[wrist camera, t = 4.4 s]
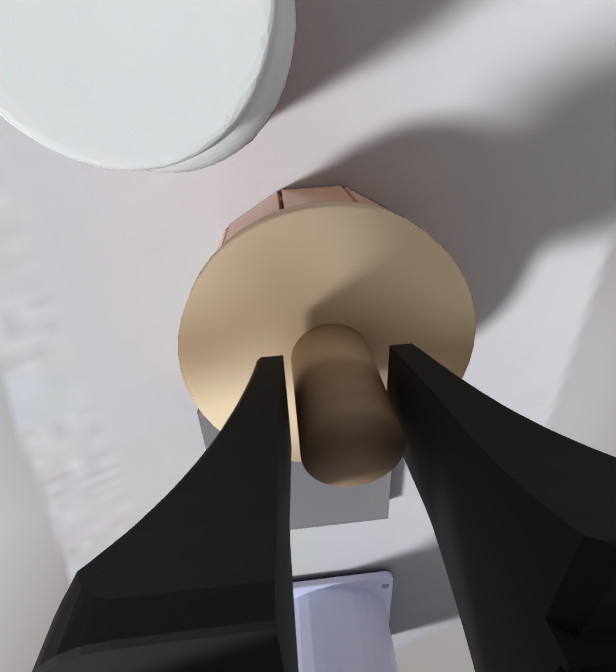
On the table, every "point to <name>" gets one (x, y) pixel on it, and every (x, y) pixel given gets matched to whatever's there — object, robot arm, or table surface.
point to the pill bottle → (144, 77)
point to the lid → (325, 327)
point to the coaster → (325, 495)
